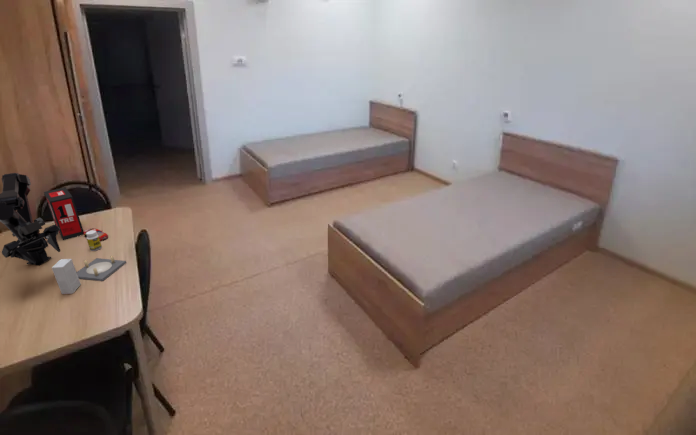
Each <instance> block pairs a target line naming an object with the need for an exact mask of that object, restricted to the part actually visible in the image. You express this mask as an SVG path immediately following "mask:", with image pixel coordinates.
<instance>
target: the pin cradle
mask: <svg viewBox="0 0 696 435" xmlns="http://www.w3.org/2000/svg"><path fill="white" fill-rule="evenodd" d="M83 263H84V266H83V267H82V268H80V269H79V270H76V272H77V275H78V278H79V280H86V281H87V280H89V281H95V282H96V281H98V282H104V281H105V280H107V278H109V277H110V276H112V274H114V273H116V272H117V271H118V270H119V269H120V268H122V267H123V266H124V265H126V264H127V260H120V259H119V260H118V259H115V258H114V255H111V256H110V258H98V257H96V258H95V259H93V260H92V261H90V262H88V259H85V260H83Z"/></svg>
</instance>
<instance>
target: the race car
mask: <svg viewBox="0 0 696 435" xmlns="http://www.w3.org/2000/svg"><path fill="white" fill-rule="evenodd" d="M92 230H95V231H96V232H97V234H98V236H99V239H100V242H102V241H104V240H107V239H108V238H109V235H108V233H107V232H104V231H103V230H100V229H98V228H88V229H86V230H83V231H84V235H83V236H84V237H85V238H86V239H87V235H86V233H87V232H88V231H92Z"/></svg>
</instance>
